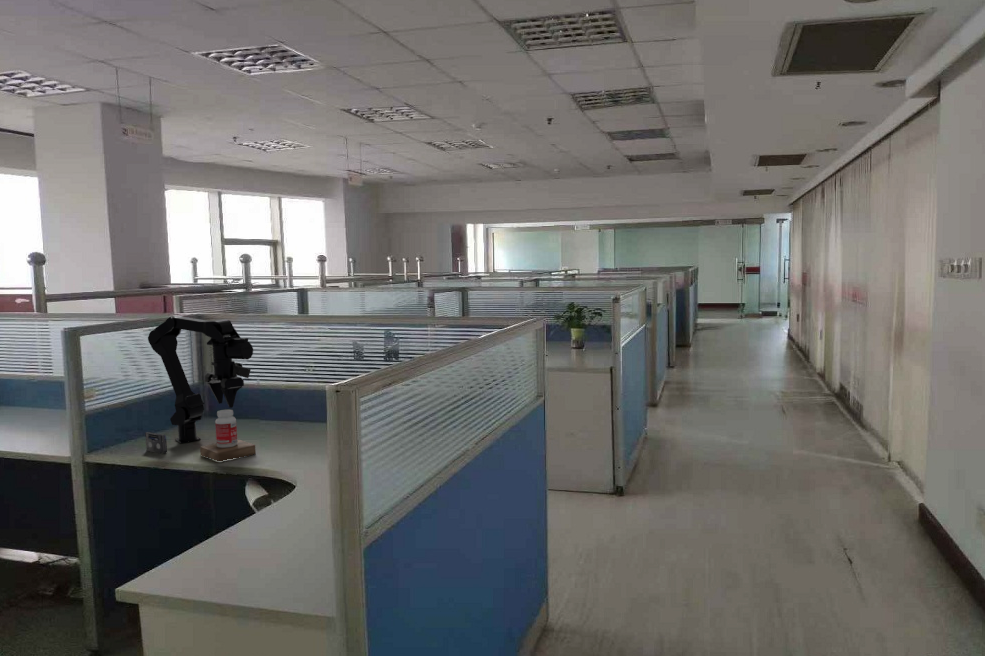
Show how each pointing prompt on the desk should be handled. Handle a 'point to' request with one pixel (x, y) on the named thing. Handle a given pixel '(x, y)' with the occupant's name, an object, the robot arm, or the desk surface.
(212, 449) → the walnut plinth
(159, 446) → the mini dv tape
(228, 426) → the pill bottle
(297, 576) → the desk surface
